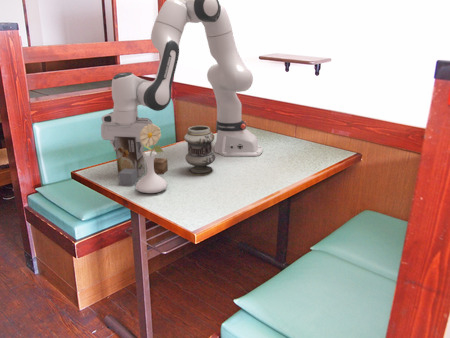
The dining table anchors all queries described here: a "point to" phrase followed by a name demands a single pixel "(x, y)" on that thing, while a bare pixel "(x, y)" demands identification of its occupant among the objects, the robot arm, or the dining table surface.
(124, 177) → the slate grey block
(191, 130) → the apothecary jar
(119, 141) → the coffee box
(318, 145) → the dining table surface
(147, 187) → the flower in vase
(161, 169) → the walnut block
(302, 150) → the dining table surface
